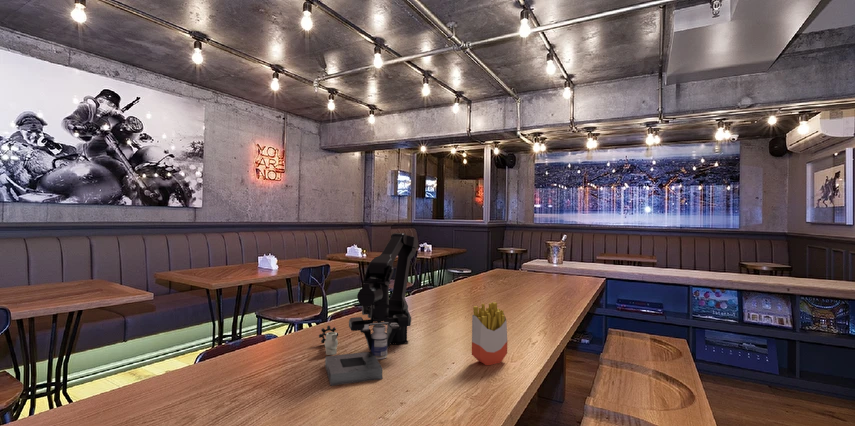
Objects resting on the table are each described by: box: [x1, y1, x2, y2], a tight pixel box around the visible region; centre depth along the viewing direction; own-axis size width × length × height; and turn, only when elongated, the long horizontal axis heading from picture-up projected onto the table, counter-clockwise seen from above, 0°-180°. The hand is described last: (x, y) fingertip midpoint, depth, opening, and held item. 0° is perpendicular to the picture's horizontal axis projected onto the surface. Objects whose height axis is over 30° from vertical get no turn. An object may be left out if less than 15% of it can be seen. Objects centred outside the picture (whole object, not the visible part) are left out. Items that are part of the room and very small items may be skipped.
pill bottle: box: [369, 324, 388, 360], centre depth 124 cm, size 5×5×10 cm
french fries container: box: [471, 301, 508, 366], centre depth 121 cm, size 5×11×18 cm, turn 119°
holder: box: [324, 351, 383, 387], centre depth 111 cm, size 14×14×3 cm
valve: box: [318, 324, 339, 356], centre depth 130 cm, size 7×7×12 cm
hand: (378, 348), depth 124 cm, fingers closed on pill bottle, 5 cm apart
